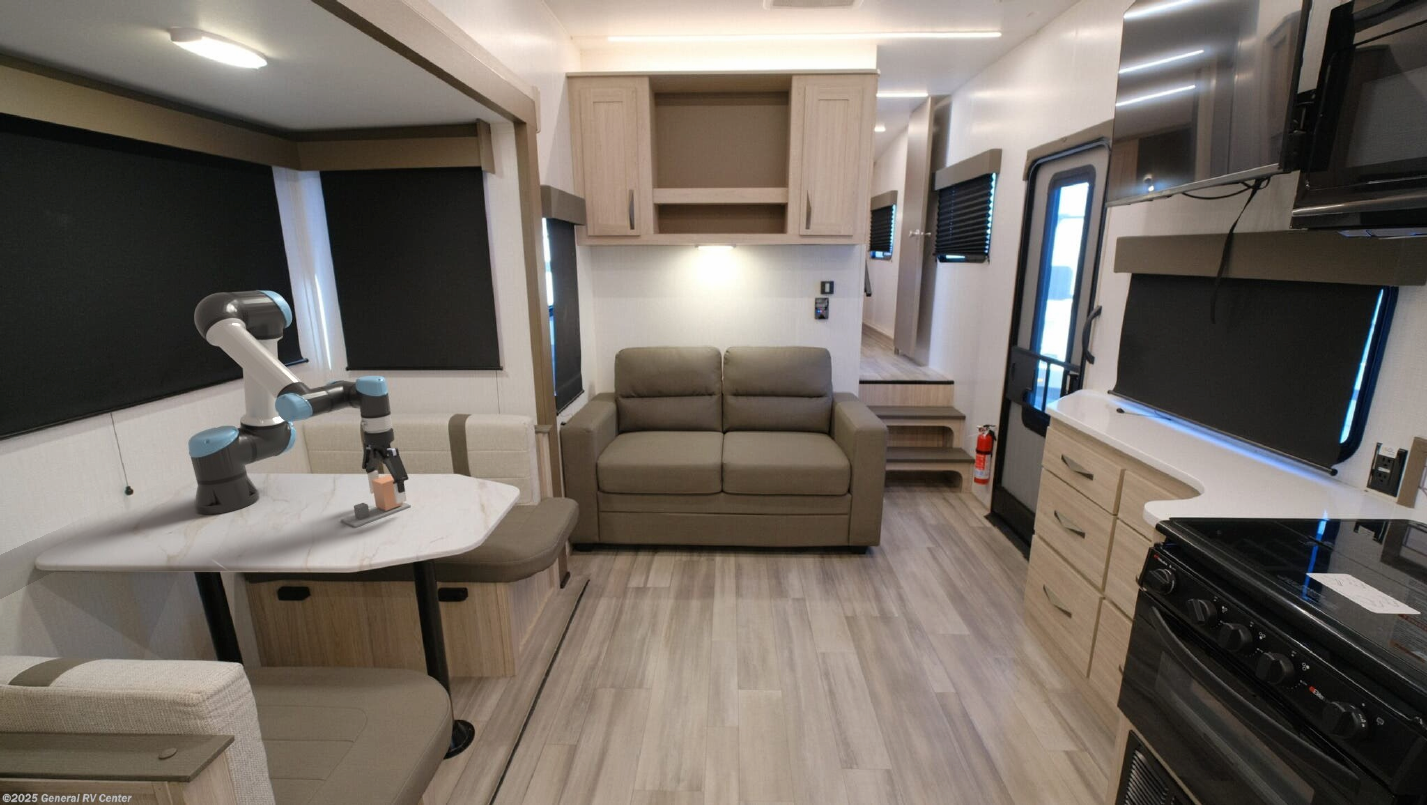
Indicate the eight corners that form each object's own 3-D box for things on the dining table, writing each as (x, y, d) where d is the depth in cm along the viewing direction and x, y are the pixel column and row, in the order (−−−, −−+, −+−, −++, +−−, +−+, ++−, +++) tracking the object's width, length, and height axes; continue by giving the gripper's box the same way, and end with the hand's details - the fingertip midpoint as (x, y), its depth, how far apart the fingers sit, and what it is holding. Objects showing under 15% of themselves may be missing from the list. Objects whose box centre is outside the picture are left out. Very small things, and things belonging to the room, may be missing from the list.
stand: (341, 520, 164) (336, 491, 161) (395, 501, 177) (391, 474, 174) (356, 527, 159) (351, 498, 157) (410, 506, 173) (406, 479, 170)
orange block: (376, 506, 170) (371, 480, 168) (393, 500, 175) (389, 474, 172) (385, 510, 168) (381, 483, 166) (402, 504, 172) (399, 478, 170)
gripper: (342, 425, 168) (353, 492, 174) (389, 440, 156) (400, 511, 161) (367, 419, 174) (377, 484, 180) (415, 433, 162) (424, 501, 167)
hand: (388, 497), depth 170 cm, fingers open, 13 cm apart
